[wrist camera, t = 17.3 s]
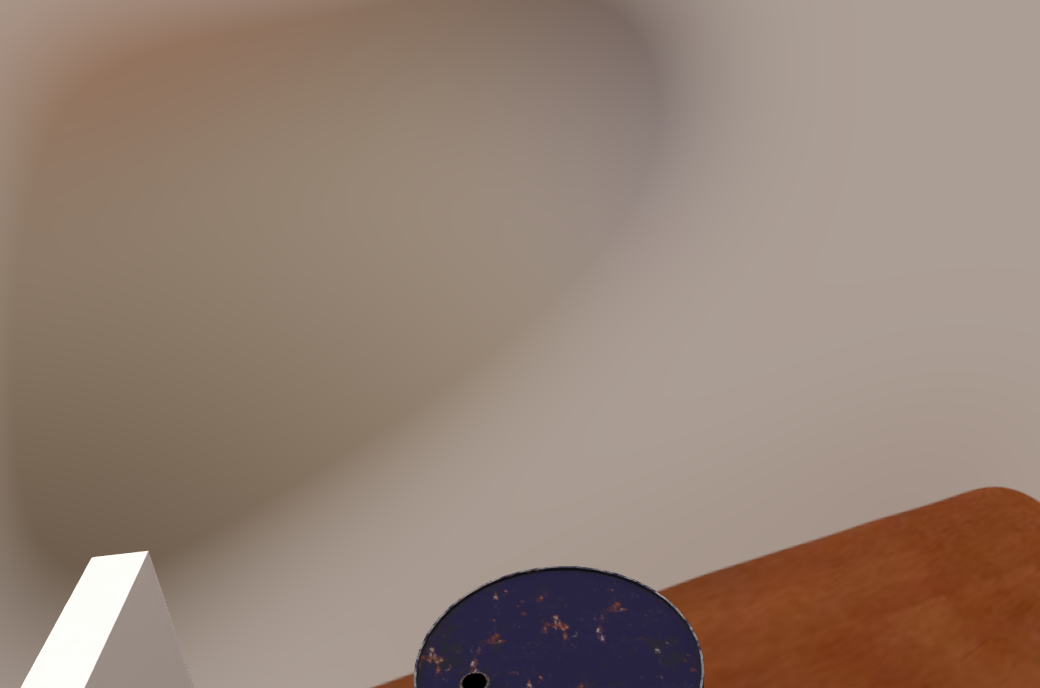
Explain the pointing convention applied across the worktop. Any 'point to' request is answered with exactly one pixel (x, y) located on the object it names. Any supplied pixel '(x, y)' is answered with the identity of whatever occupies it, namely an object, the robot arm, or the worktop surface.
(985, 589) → the worktop surface
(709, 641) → the worktop surface
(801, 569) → the worktop surface
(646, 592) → the rusty blue drum
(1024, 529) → the worktop surface
